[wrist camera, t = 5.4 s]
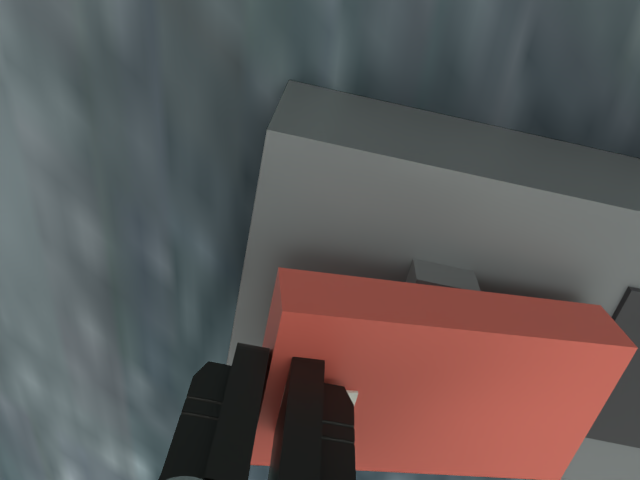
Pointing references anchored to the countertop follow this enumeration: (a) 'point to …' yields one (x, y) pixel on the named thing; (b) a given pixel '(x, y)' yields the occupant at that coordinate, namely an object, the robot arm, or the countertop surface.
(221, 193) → the countertop surface
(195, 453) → the robot arm
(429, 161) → the rocker switch panel
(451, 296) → the block
